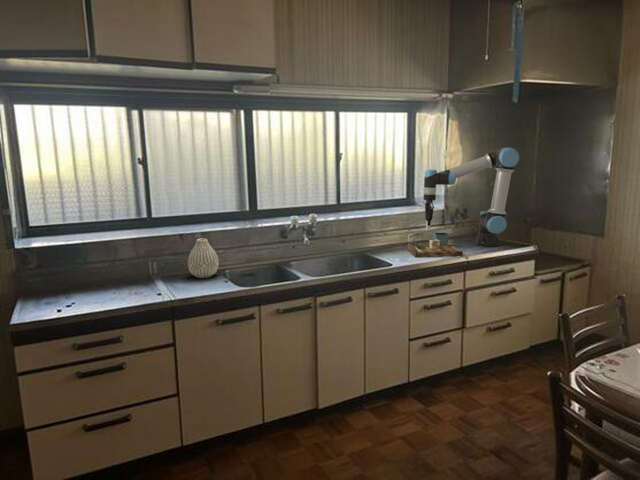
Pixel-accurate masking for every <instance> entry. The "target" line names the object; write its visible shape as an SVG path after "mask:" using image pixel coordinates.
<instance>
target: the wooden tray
mask: <svg viewBox="0 0 640 480" xmlns="http://www.w3.org/2000/svg"><path fill="white" fill-rule="evenodd" d="M407 245H408V246H407V252H408V253H410V254H411V255H412V256H413V257H414V258H441V257H443V256H452V257H463V250H460V249H458V248H457V247H455V246H453V244H447V245H440V249H431V248H430V244H425V245H412V244H411V243H408V244H407ZM443 258H444V257H443Z"/></svg>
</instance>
